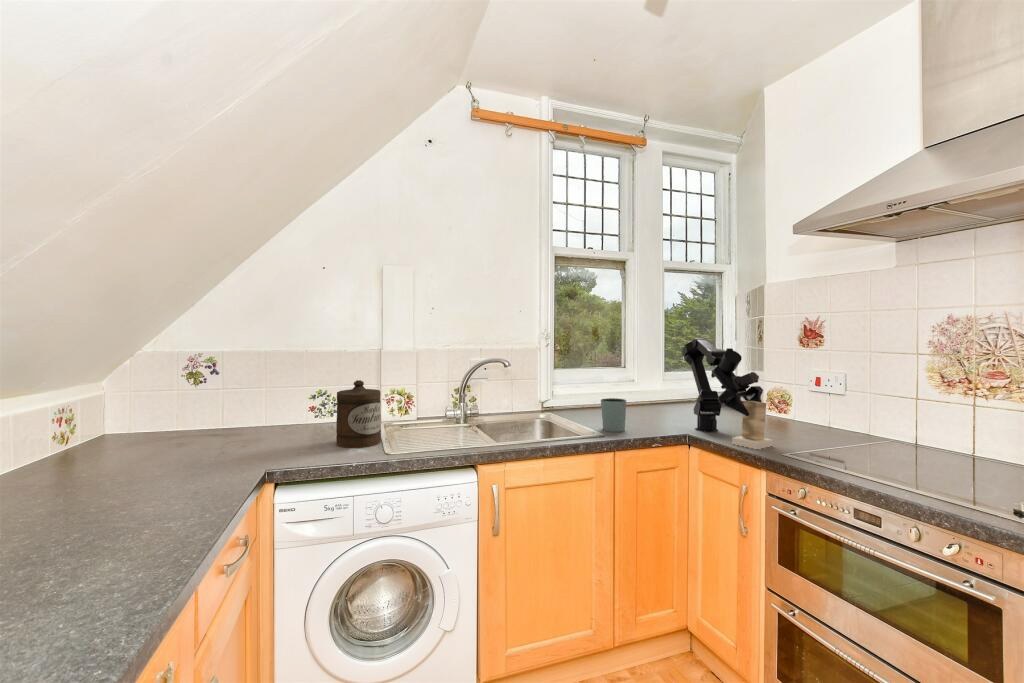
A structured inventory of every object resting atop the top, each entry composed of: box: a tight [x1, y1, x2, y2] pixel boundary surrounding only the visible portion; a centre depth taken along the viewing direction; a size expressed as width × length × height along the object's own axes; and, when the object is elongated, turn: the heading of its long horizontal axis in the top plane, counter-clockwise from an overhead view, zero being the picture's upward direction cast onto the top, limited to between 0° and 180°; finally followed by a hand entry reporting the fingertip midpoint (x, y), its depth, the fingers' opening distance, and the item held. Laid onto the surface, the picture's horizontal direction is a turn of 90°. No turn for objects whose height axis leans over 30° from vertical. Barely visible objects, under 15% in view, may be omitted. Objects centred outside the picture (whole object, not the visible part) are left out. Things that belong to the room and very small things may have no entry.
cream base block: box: [731, 435, 774, 450], centre depth 165 cm, size 9×9×3 cm
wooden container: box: [335, 379, 382, 449], centre depth 167 cm, size 15×15×22 cm
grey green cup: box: [600, 397, 627, 433], centre depth 191 cm, size 10×10×12 cm
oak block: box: [740, 400, 767, 440], centre depth 165 cm, size 5×5×12 cm
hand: (756, 414), depth 164 cm, fingers open, 9 cm apart
